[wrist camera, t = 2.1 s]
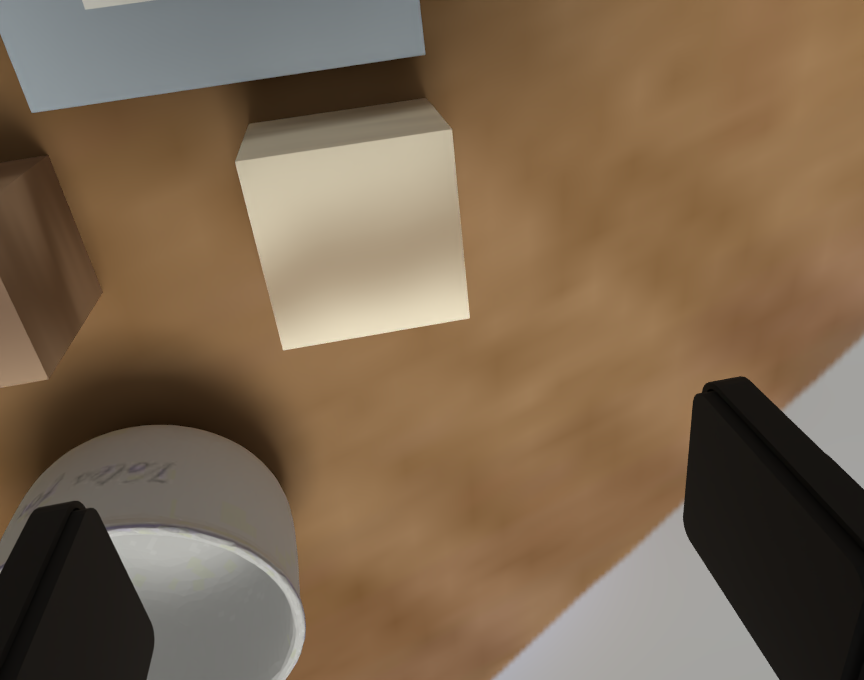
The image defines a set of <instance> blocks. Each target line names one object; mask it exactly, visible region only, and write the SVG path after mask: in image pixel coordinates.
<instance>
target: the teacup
mask: <svg viewBox="0 0 864 680" xmlns="http://www.w3.org/2000/svg"><path fill="white" fill-rule="evenodd" d="M70 501H80V502H81V503H82V504H83V505H84V506H85V508H94V509H96V510H97V512H98V513H99V515H100V517H101V519H102V521H103V523H104V525H105V528H106V530H107V532H108V534H109V536H110V538H111V540H112V542H113V544H114V546H115V548H116V550H117V552H118V554H119V557H120V559H121V561H122V563H123V565H124V567H125V569H126V571H127V573H128V575H129V577H130V579H131V581H132V583H133V585H134V588H135V590H136V592H137V594H138V596H139V598H140V600H141V602H142V604H143V606H144V608H145V610H146V612H147V614H148V617H149V619H150V621H151V623H152V626H153V630H154V638H155V641H154V650H153V655H152V659H151V663H150V668H149V672H148V676H147V680H285V679H286V678H287V677H288V675H289V674H290V672H291V671H292V669H293V667H294V666H295V664H296V663H297V661H298V658H299V656H300V654H301V651H302V647H303V643H304V640H305V630H306V624H305V614H304V610H303V606H302V602H301V599H300V590H299V569H298V556H297V545H296V536H295V529H294V523H293V518H292V514H291V510H290V506H289V503H288V500H287V498H286V496H285V494H284V491H283V490H282V488H281V486H280V484H279V482H278V481H277V479H276V478H275V476H274V475H273V473H272V472H271V471H270V470H269V469H268V468H267V467H266V466H265V465H264V463H263V462H262V461H261V460H259V459H258V458H257V457H256V456H255V455H254V454H252V453H251V452H250V451H248V450H247V449H245V448H244V447H242V446H241V445H239V444H237V443H235V442H233V441H231V440H229V439H227V438H224V437H222V436H220V435H217V434H215V433H211V432H208V431H204V430H200V429H196V428H192V427H184V426H177V425H144V426H137V427H130V428H125V429H121V430H116V431H112V432H109V433H106V434H103V435H101V436H98V437H95V438H93V439H91V440H89V441H87V442H85V443H83V444H81V445H79V446H77V447H75V448H73V449H72V450H70V451H69V452H67V453H66V454H64V455H63V456H61V457H60V458H59V459H58V460H57V461H55V462H54V463H53V464H52V465H51V466H50V467H49V468H48V469H47V470H46V471H45V472H44V473H43V474H41V475H40V477H39V478H38V479H37V480H36V481H35V482H34V484H33V485H32V487H31V488H30V490H29V491H28V492H27V494H26V495H25V497H24V498H23V500H22V502H21V503H20V505H19V507H18V508H17V510H16V512H15V514H14V516H13V517H12V519H11V521H10V523H9V525H8V527H7V529H6V530H5V533H4V535H3V537H2V539H1V541H0V572H1V570H2V569H3V567H4V565H5V563H6V561H7V559H8V557H9V555H10V553H11V551H12V549H13V547H14V545H15V543H16V541H17V539H18V538H19V536H20V534H21V532H22V530H23V528H24V526H25V524H26V522H27V520H28V518H29V516H30V514H31V513H32V512H33V510H35V509H36V508H38V507H43V506H49V505H54V504H59V503H65V502H70Z"/></svg>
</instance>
